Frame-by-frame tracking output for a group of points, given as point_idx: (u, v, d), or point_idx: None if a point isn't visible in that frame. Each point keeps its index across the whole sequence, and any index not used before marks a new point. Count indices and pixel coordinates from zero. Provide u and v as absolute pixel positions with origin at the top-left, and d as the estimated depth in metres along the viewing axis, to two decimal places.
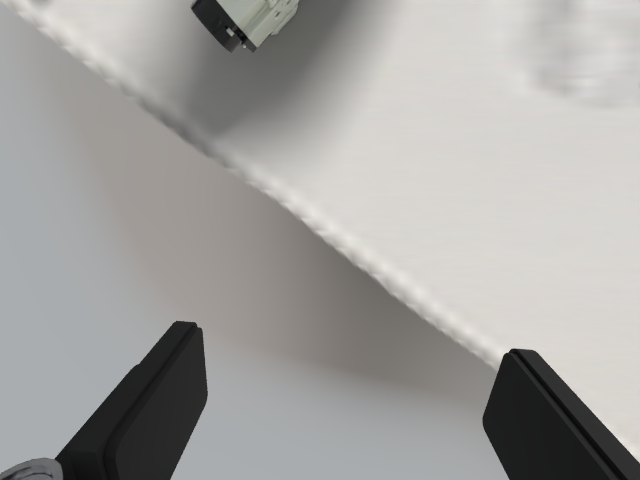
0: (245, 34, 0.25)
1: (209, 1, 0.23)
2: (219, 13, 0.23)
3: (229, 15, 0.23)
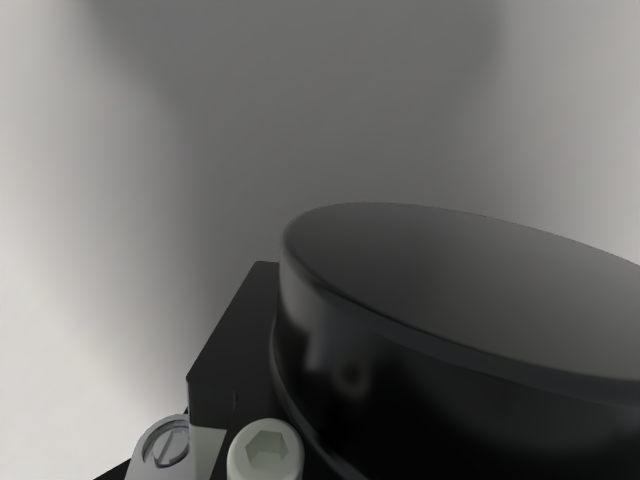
0: (218, 429, 0.03)
1: None
2: None
3: None
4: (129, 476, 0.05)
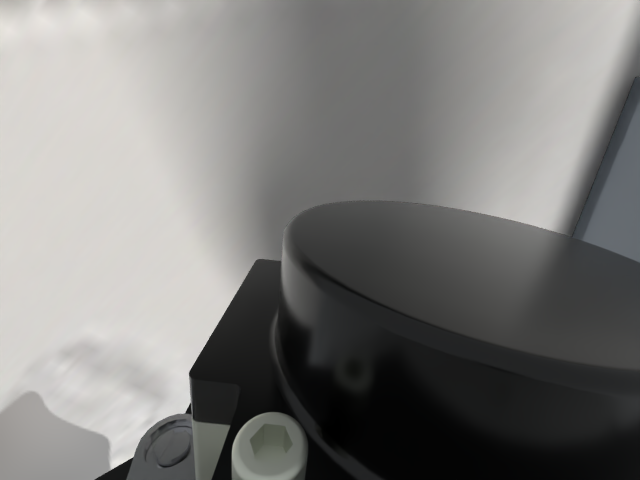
0: (221, 424, 0.03)
1: None
2: None
3: None
4: (131, 476, 0.05)
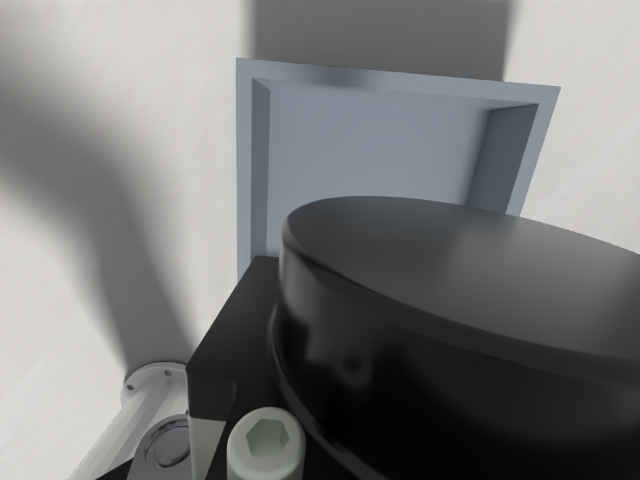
0: (218, 421, 0.03)
1: None
2: None
3: None
4: (132, 475, 0.05)
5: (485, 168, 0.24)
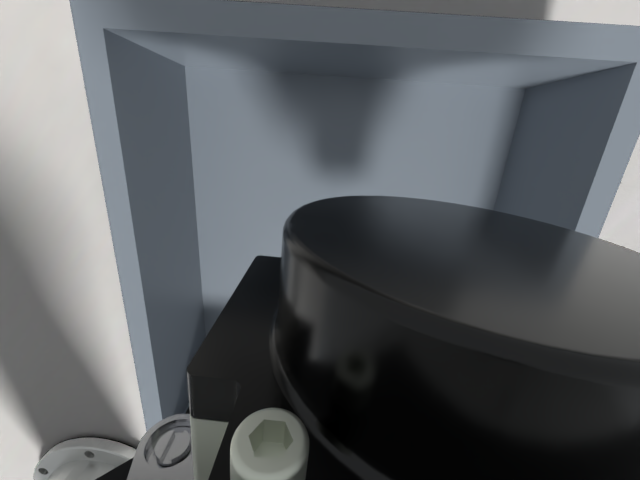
0: (220, 421, 0.03)
1: None
2: None
3: None
4: (132, 475, 0.05)
5: (519, 178, 0.16)
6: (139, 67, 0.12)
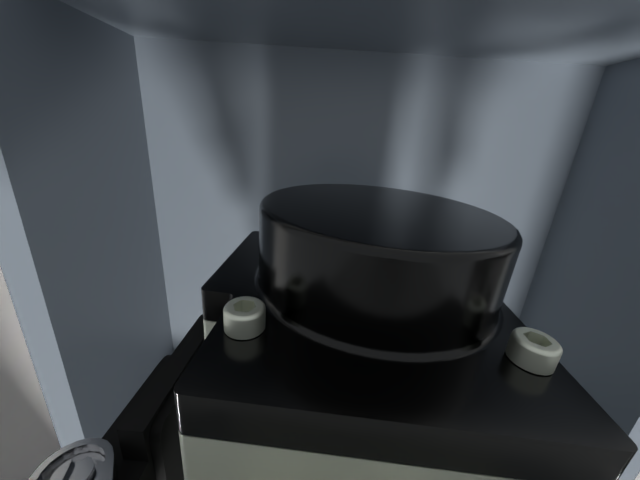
0: None
1: (398, 433, 0.03)
2: (297, 419, 0.03)
3: (238, 444, 0.03)
4: None
5: (596, 191, 0.11)
6: (39, 25, 0.08)
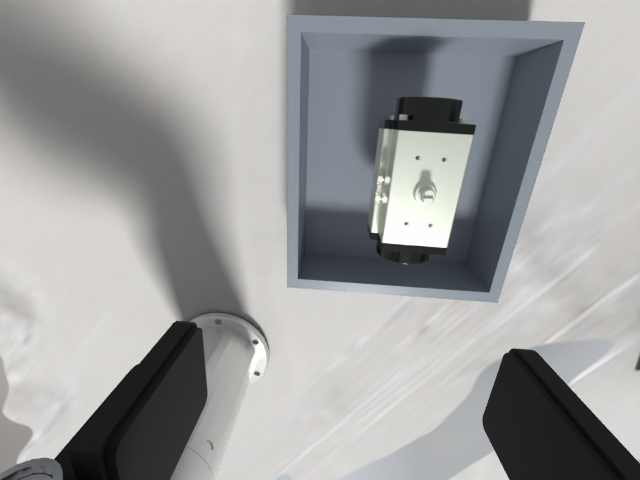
0: (389, 129, 0.20)
1: (438, 124, 0.18)
2: (421, 123, 0.18)
3: (409, 131, 0.19)
4: None
5: (511, 112, 0.26)
6: (303, 51, 0.23)
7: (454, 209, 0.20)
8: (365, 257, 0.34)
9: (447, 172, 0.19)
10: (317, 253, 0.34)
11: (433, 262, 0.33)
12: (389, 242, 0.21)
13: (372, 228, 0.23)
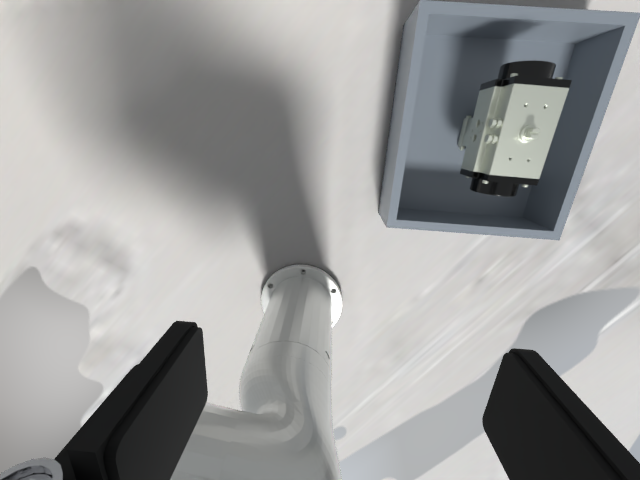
0: (498, 86, 0.27)
1: (544, 79, 0.25)
2: (531, 78, 0.25)
3: (522, 84, 0.25)
4: None
5: (572, 86, 0.33)
6: None
7: (548, 147, 0.27)
8: (439, 211, 0.40)
9: (546, 117, 0.26)
10: (398, 207, 0.40)
11: (496, 215, 0.40)
12: (495, 174, 0.28)
13: (475, 168, 0.29)
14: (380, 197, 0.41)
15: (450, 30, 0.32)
